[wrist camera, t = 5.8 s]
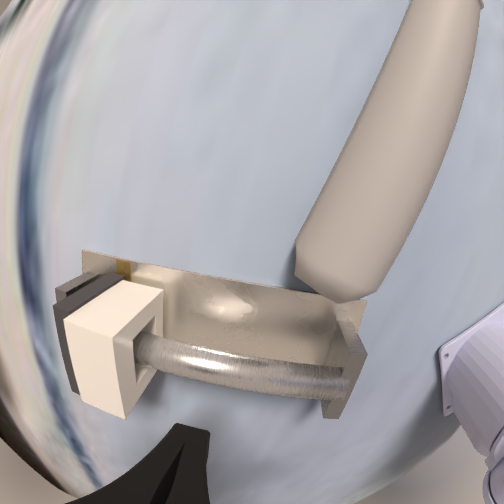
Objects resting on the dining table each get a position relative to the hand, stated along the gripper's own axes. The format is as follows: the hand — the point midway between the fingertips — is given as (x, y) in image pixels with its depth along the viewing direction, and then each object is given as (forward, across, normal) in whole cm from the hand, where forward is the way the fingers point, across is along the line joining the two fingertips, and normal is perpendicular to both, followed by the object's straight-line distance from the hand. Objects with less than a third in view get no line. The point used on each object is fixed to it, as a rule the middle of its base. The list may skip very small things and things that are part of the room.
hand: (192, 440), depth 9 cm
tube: (+10, -8, -17) cm, 21 cm away
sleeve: (+9, +6, 0) cm, 11 cm away
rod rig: (+9, +2, 0) cm, 9 cm away
